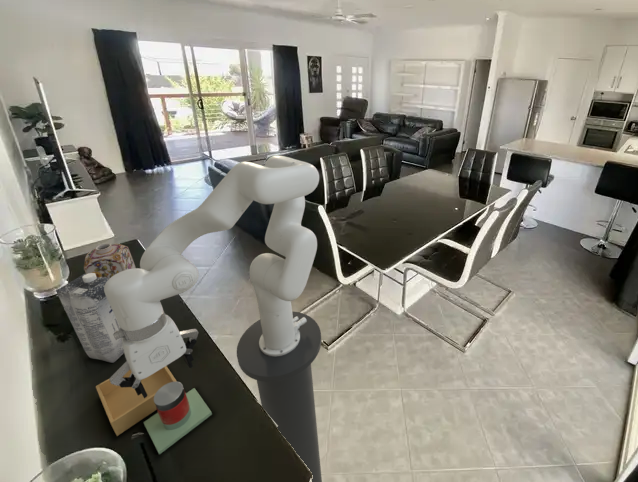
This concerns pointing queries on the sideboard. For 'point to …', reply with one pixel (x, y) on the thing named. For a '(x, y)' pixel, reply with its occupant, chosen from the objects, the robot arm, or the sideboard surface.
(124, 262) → the decorative jar
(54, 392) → the sideboard surface
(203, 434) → the sideboard surface
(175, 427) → the can
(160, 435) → the mat
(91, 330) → the juice carton
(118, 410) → the open wooden box
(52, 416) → the sideboard surface
